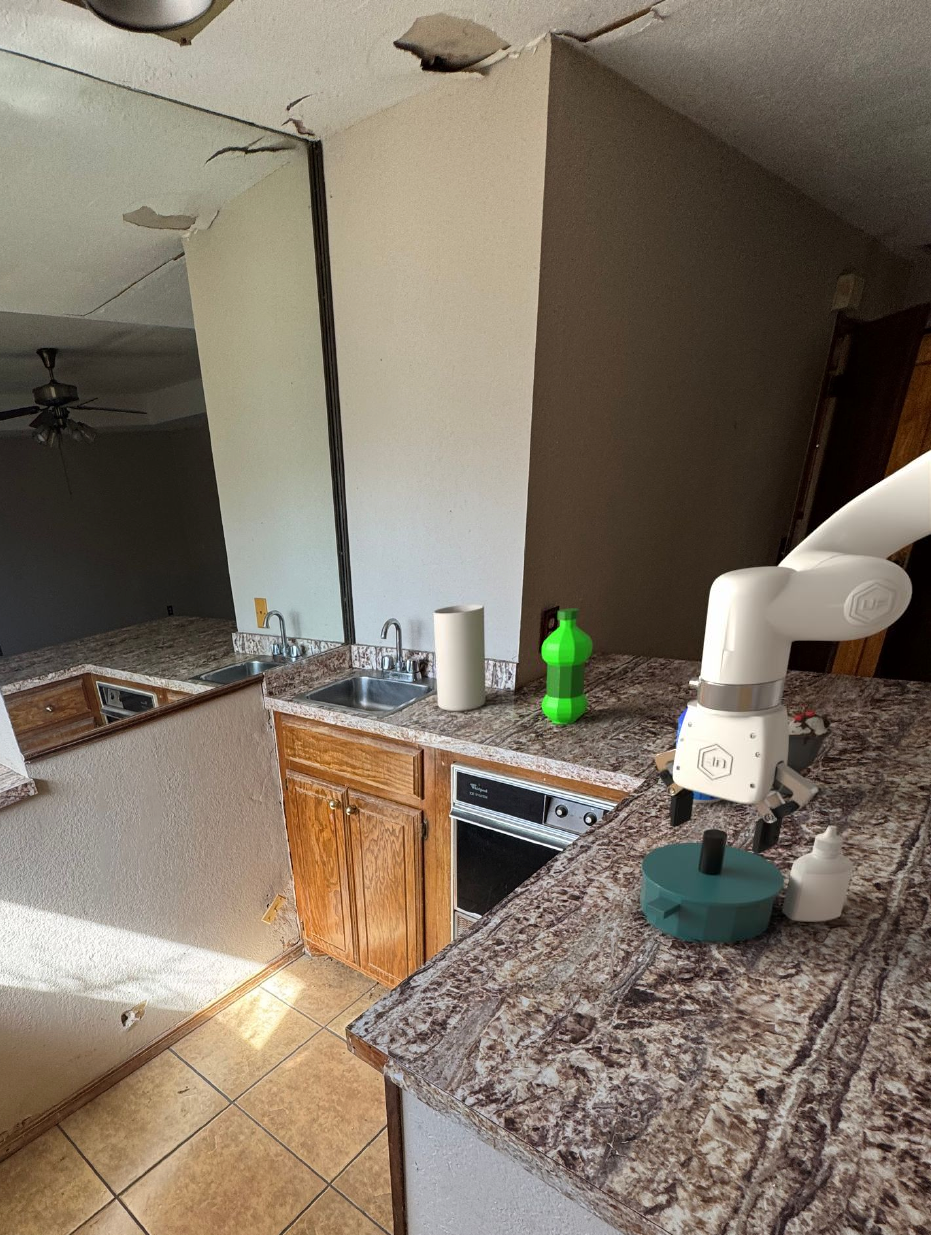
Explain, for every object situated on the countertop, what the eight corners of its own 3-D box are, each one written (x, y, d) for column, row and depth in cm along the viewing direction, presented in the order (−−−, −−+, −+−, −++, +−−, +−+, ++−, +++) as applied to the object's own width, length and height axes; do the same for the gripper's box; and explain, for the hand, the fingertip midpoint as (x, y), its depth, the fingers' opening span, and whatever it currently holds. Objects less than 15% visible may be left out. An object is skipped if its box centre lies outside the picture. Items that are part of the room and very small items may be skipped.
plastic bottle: (558, 711, 158) (562, 605, 147) (597, 718, 150) (604, 606, 139) (531, 722, 154) (533, 613, 143) (569, 730, 146) (574, 615, 135)
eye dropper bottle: (842, 931, 74) (867, 838, 68) (781, 922, 77) (801, 832, 71) (838, 911, 77) (862, 821, 72) (780, 903, 80) (799, 815, 75)
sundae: (766, 794, 105) (784, 705, 99) (769, 779, 110) (786, 693, 104) (817, 799, 102) (839, 706, 95) (817, 783, 106) (838, 694, 100)
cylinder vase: (450, 715, 168) (446, 615, 157) (430, 704, 179) (425, 611, 168) (494, 705, 170) (493, 606, 159) (472, 696, 181) (469, 603, 170)
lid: (811, 882, 75) (822, 835, 72) (727, 926, 70) (736, 878, 67) (692, 839, 87) (698, 797, 84) (614, 874, 82) (618, 831, 79)
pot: (806, 908, 78) (815, 869, 76) (707, 970, 71) (714, 929, 69) (697, 867, 89) (702, 832, 87) (602, 917, 82) (605, 880, 80)
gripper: (642, 691, 74) (632, 824, 82) (810, 715, 60) (780, 873, 68) (684, 675, 77) (671, 805, 85) (854, 695, 63) (820, 849, 70)
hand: (719, 835), depth 76 cm, fingers open, 9 cm apart
